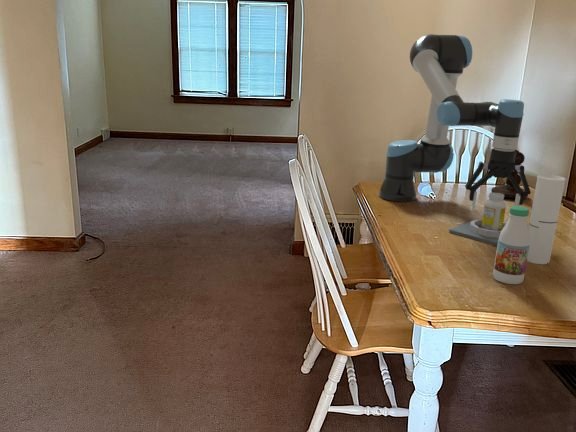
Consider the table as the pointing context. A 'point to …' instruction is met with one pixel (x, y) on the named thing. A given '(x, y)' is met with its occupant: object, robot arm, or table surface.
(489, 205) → the supplement bottle
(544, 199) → the cylindrical container
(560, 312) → the table surface
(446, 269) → the table surface
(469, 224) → the collar board
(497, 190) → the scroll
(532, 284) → the table surface
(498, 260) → the milk bottle
